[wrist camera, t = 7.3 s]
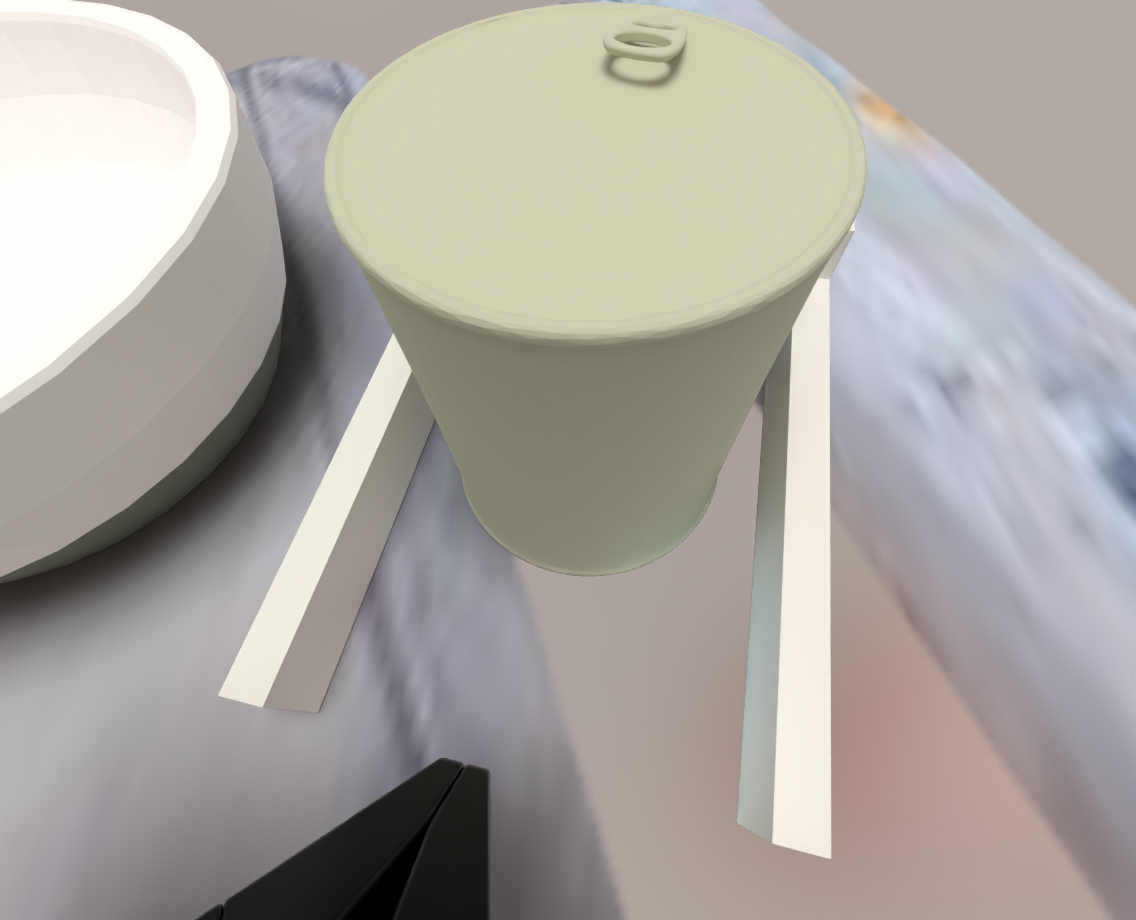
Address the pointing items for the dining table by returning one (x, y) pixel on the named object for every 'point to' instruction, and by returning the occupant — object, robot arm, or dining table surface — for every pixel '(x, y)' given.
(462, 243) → the can
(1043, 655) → the dining table surface
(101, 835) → the dining table surface
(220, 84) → the bowl
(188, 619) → the dining table surface
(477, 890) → the robot arm
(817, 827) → the white angular bar frame
